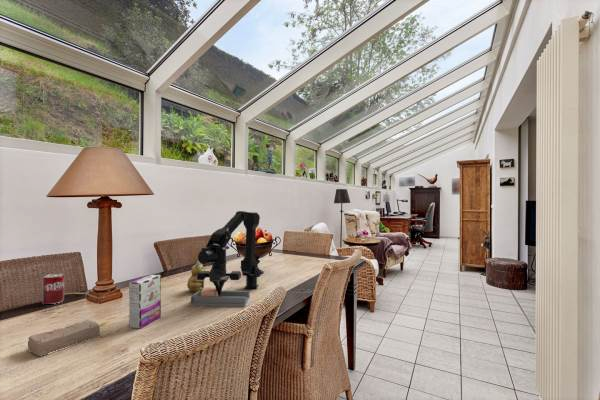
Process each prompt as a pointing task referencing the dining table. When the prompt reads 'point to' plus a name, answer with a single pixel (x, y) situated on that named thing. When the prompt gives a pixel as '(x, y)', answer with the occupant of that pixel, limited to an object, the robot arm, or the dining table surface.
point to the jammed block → (209, 291)
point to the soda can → (53, 289)
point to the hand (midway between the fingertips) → (219, 294)
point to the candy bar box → (144, 301)
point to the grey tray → (221, 299)
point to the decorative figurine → (193, 282)
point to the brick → (63, 337)
